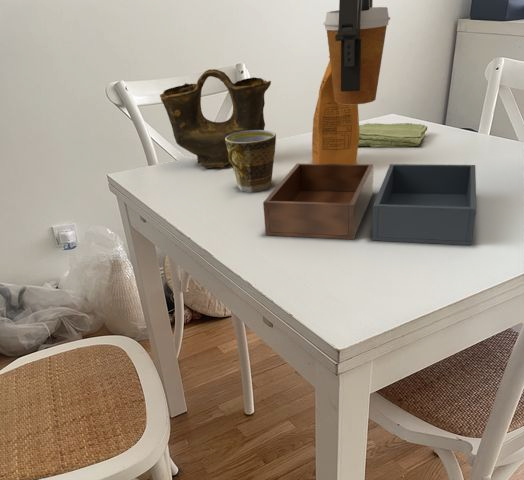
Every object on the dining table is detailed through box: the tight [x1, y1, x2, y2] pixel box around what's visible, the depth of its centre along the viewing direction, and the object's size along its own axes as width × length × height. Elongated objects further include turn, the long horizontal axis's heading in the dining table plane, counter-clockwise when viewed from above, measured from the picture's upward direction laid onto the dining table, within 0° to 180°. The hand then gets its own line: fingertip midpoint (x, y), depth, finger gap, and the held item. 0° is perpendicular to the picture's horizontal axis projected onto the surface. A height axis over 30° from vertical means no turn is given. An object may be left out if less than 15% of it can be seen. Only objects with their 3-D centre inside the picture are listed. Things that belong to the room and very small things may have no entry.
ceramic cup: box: [225, 129, 277, 193], centre depth 107 cm, size 13×10×10 cm
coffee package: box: [311, 55, 360, 164], centre depth 113 cm, size 10×12×22 cm
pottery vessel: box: [159, 68, 272, 169], centre depth 122 cm, size 25×11×20 cm, turn 89°
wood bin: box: [262, 162, 375, 240], centre depth 94 cm, size 15×22×6 cm
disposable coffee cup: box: [323, 6, 391, 105], centre depth 80 cm, size 10×10×12 cm
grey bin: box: [371, 163, 477, 246], centre depth 89 cm, size 15×22×6 cm
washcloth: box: [358, 122, 428, 148], centre depth 132 cm, size 13×18×3 cm
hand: (355, 85), depth 82 cm, fingers closed on disposable coffee cup, 8 cm apart
